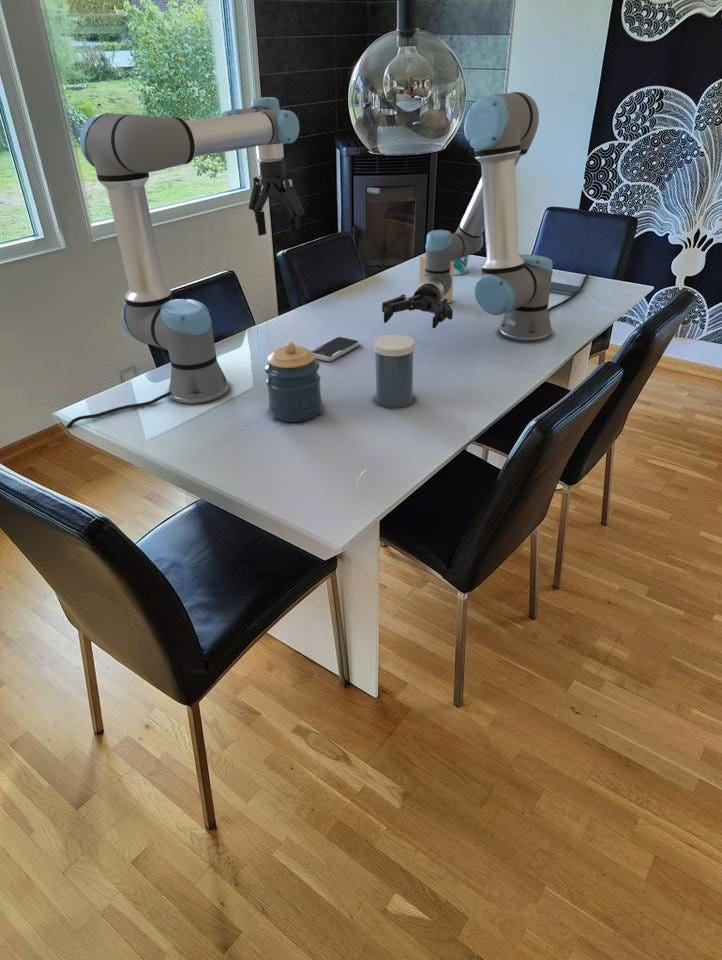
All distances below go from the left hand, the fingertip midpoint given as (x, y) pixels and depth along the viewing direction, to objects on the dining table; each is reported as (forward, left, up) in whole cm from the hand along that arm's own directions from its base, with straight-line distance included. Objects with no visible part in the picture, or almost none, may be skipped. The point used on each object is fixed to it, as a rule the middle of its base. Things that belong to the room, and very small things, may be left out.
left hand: (278, 237), depth 202 cm
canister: (-44, -43, -28) cm, 67 cm away
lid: (-25, -59, -13) cm, 66 cm away
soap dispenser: (+47, -28, -28) cm, 61 cm away
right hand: (-5, -51, -15) cm, 53 cm away
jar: (-25, -59, -28) cm, 70 cm away
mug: (+83, -15, -28) cm, 89 cm away
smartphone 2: (+79, -58, -28) cm, 102 cm away
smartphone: (-8, -26, -28) cm, 39 cm away
